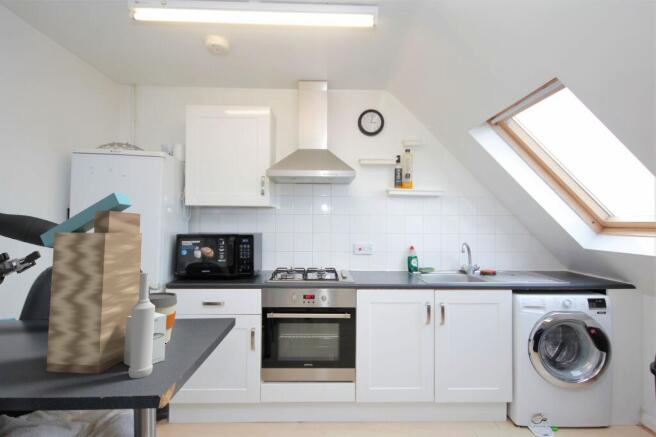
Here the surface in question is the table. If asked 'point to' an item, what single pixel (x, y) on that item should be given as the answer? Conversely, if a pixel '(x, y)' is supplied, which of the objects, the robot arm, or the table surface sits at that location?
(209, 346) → the table surface
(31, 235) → the robot arm
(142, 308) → the bottle
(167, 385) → the table surface
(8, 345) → the table surface
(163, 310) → the reusable coffee cup
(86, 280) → the brown tall stepped block
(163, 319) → the supplement box
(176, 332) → the table surface
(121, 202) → the long light blue beam
